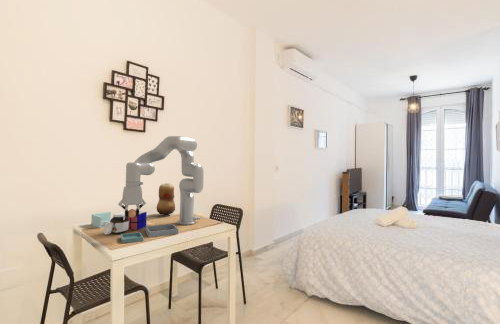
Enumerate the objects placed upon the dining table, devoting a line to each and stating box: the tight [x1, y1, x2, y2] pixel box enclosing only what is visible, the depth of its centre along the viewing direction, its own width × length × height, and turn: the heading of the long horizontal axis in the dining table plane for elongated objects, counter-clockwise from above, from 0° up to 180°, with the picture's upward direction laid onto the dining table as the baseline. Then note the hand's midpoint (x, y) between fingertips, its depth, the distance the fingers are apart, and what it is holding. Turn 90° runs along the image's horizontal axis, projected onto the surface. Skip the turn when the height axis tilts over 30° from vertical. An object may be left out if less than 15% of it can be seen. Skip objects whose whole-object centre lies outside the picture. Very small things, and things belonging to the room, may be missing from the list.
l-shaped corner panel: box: [90, 211, 112, 229], centre depth 184 cm, size 12×12×8 cm
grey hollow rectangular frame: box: [144, 223, 179, 238], centre depth 171 cm, size 17×13×3 cm
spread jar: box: [103, 211, 129, 236], centre depth 166 cm, size 12×11×12 cm
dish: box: [120, 231, 144, 244], centre depth 156 cm, size 11×11×2 cm
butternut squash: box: [156, 182, 176, 216], centre depth 216 cm, size 14×13×25 cm
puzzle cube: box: [128, 210, 147, 231], centre depth 179 cm, size 10×10×10 cm
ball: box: [128, 208, 136, 217], centre depth 155 cm, size 5×5×5 cm
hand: (131, 216), depth 155 cm, fingers closed on ball, 4 cm apart
